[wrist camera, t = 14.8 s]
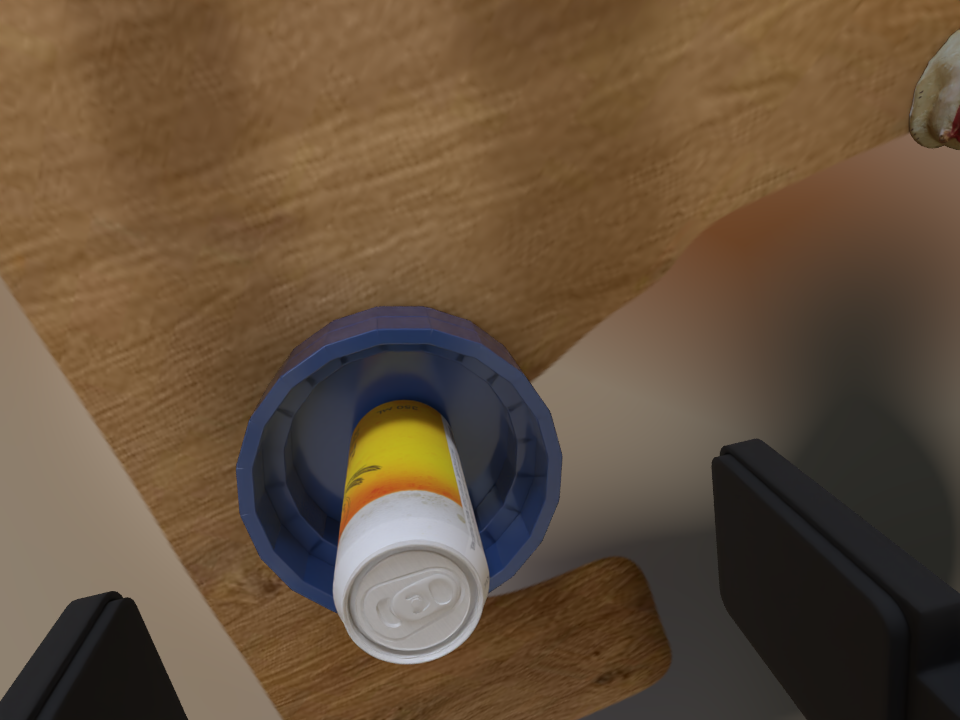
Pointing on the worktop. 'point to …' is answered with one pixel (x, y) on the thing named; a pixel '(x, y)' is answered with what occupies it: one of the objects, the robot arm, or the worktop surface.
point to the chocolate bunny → (938, 99)
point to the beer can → (408, 539)
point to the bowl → (360, 388)
